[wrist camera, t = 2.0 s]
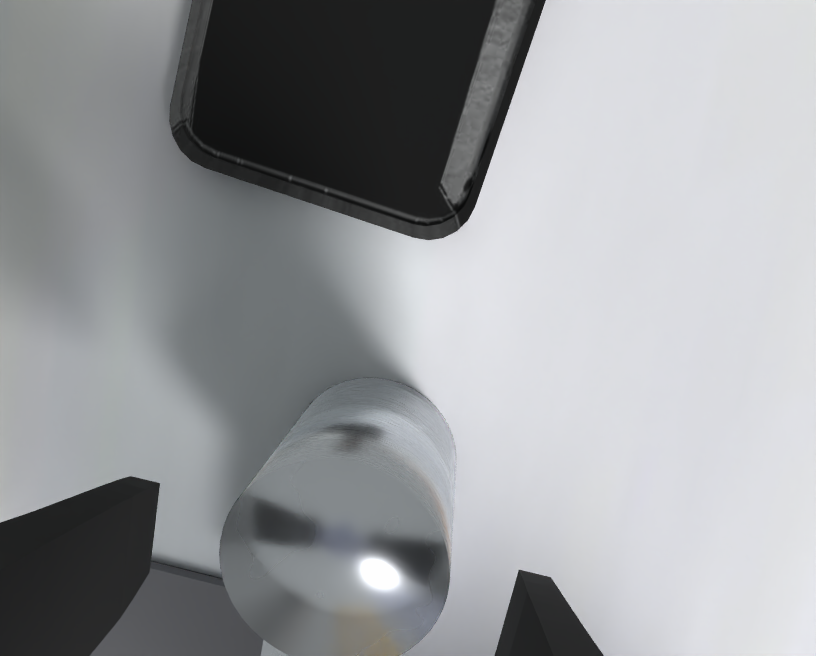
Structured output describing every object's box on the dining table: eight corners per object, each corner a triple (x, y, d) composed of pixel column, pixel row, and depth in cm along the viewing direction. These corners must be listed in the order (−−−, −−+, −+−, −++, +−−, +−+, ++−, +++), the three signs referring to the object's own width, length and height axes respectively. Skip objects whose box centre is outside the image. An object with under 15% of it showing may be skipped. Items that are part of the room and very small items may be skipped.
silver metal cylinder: (472, 398, 16) (473, 490, 11) (419, 620, 18) (398, 788, 13) (307, 361, 17) (235, 434, 12) (269, 583, 18) (192, 733, 13)
